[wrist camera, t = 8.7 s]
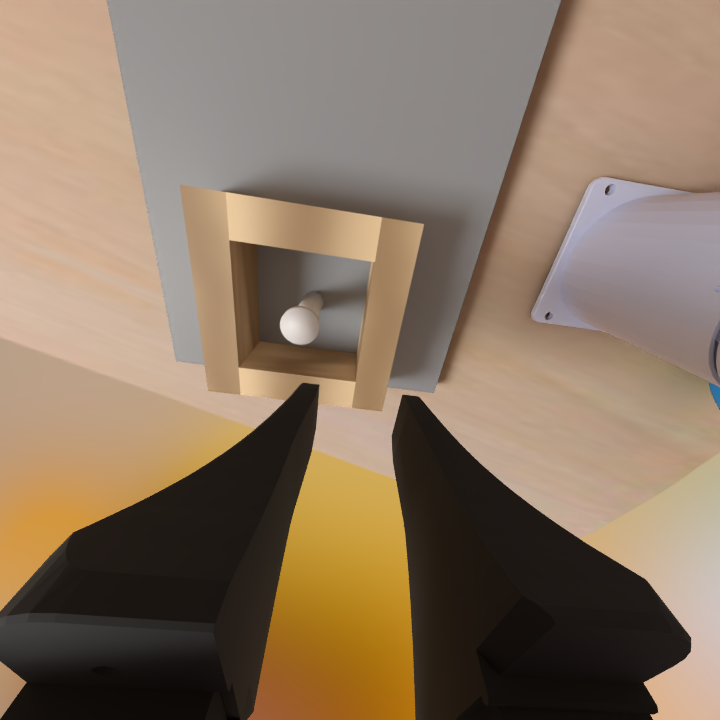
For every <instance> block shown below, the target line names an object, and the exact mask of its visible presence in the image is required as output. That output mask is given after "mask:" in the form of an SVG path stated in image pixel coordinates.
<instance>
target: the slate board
mask: <svg viewBox="0 0 720 720" xmlns="http://www.w3.org/2000/svg"><path fill="white" fill-rule="evenodd" d="M560 2H561V0H107V4H108V9H109V14H110V19H111V25H112V30H113V35H114V40H115V45H116V51H117V56H118V61H119V66H120V71H121V77H122V82H123V87H124V92H125V97H126V103H127V108H128V113H129V118H130V123H131V129H132V134H133V139H134V144H135V149H136V155H137V160H138V165H139V170H140V175H141V181H142V186H143V191H144V196H145V201H146V207H147V212H148V217H149V222H150V227H151V233H152V238H153V243H154V248H155V253H156V259H157V264H158V269H159V274H160V279H161V285H162V290H163V295H164V300H165V306H166V311H167V316H168V321H169V326H170V332H171V337H172V342H173V347H174V352H175V358H176V361H177V362H186V363H194V364H202V365H205V364H204V357H203V349H202V342H201V335H200V328H199V320H198V313H197V306H196V299H195V292H194V284H193V277H192V270H191V263H190V255H189V248H188V241H187V234H186V227H185V219H184V212H183V205H182V198H181V190H180V185H185V186H191V187H198V188H204V189H210V190H216V191H222V192H229V193H235V194H241V195H247V196H253V197H260V198H266V199H272V200H278V201H284V202H290V203H297V204H303V205H309V206H315V207H321V208H328V209H334V210H340V211H346V212H352V213H359V214H365V215H371V216H377V217H383V218H389V219H396V220H402V221H408V222H414V223H420V224H424V227H423V232H422V236H421V240H420V245H419V249H418V254H417V258H416V263H415V267H414V271H413V276H412V280H411V285H410V289H409V294H408V298H407V302H406V307H405V311H404V316H403V320H402V325H401V329H400V333H399V338H398V342H397V347H396V351H395V356H394V360H393V365H392V369H391V373H390V378H389V382H388V387H389V388H398V389H406V390H414V391H422V392H430V393H434V391H435V388H436V385H437V382H438V379H439V376H440V373H441V370H442V366H443V363H444V360H445V357H446V354H447V351H448V348H449V345H450V342H451V339H452V336H453V332H454V329H455V326H456V323H457V320H458V317H459V314H460V311H461V308H462V305H463V302H464V298H465V295H466V292H467V289H468V286H469V283H470V280H471V277H472V274H473V271H474V268H475V265H476V261H477V258H478V255H479V252H480V249H481V246H482V243H483V240H484V237H485V234H486V231H487V227H488V224H489V221H490V218H491V215H492V212H493V209H494V206H495V203H496V200H497V197H498V193H499V190H500V187H501V184H502V181H503V178H504V175H505V172H506V169H507V166H508V163H509V159H510V156H511V153H512V150H513V147H514V144H515V141H516V138H517V135H518V132H519V129H520V125H521V122H522V119H523V116H524V113H525V110H526V107H527V104H528V101H529V98H530V95H531V92H532V88H533V85H534V82H535V79H536V76H537V73H538V70H539V67H540V64H541V61H542V58H543V54H544V51H545V48H546V45H547V42H548V39H549V36H550V33H551V30H552V27H553V24H554V20H555V17H556V14H557V11H558V8H559V5H560ZM370 264H371V261H364V260H357V259H351V258H344V257H338V256H331V255H324V254H318V253H311V252H304V251H298V250H291V249H285V248H278V247H271V246H265V245H258V244H257V268H258V301H259V334H260V341H261V342H269V343H277V344H284V345H292V346H300V347H307V348H315V349H323V350H331V351H338V352H346V353H354V354H357V349H358V342H359V336H360V329H361V323H362V316H363V310H364V303H365V297H366V290H367V283H368V277H369V270H370Z"/></svg>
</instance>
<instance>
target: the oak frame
mask: <svg viewBox="0 0 720 720" xmlns="http://www.w3.org/2000/svg"><path fill="white" fill-rule="evenodd" d="M180 190H181V198H182V205H183V212H184V219H185V227H186V234H187V241H188V248H189V255H190V263H191V270H192V277H193V284H194V292H195V299H196V306H197V313H198V320H199V328H200V335H201V342H202V349H203V357H204V364H205V371H206V378H207V386H208V391H213V392H221V393H230V394H238V395H247V396H255V397H264V398H272V399H281V400H287V399H288V398H289V397H290V396H291V395H292V393H293V392H294V391H295V390H296V389H297V388H298V386H299V385H300V384H302V383H310V384H319V385H320V387H319V398H318V404H324V405H332V406H341V407H349V408H358V409H366V410H375V411H382V409H383V404H384V400H385V396H386V391H387V387H388V382H389V378H390V373H391V369H392V365H393V360H394V356H395V351H396V347H397V342H398V338H399V333H400V329H401V325H402V320H403V316H404V311H405V307H406V302H407V298H408V294H409V289H410V285H411V280H412V276H413V271H414V267H415V263H416V258H417V254H418V249H419V245H420V240H421V236H422V232H423V227H424V224H420V223H414V222H408V221H402V220H396V219H389V218H383V217H377V216H371V215H365V214H359V213H352V212H346V211H340V210H334V209H328V208H321V207H315V206H309V205H303V204H297V203H290V202H284V201H278V200H272V199H266V198H260V197H253V196H247V195H241V194H235V193H229V192H222V191H216V190H210V189H204V188H198V187H191V186H185V185H180ZM257 244H258V245H265V246H271V247H278V248H285V249H291V250H298V251H304V252H311V253H318V254H324V255H331V256H338V257H344V258H351V259H357V260H364V261H371V264H370V270H369V277H368V283H367V290H366V297H365V303H364V310H363V316H362V323H361V329H360V336H359V342H358V349H357V354H354V353H346V352H338V351H331V350H323V349H315V348H307V347H300V346H292V345H284V344H277V343H269V342H261V341H260V334H259V301H258V268H257Z"/></svg>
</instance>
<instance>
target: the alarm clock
mask: <svg viewBox="0 0 720 720" xmlns="http://www.w3.org/2000/svg"><path fill="white" fill-rule="evenodd" d="M709 386H710V390H711V393H712V395H713V398H714V400H715V402H716V404H717V406H718V407H719V409H720V387H718V386H716V385H714V384H712V383H710V382H709Z"/></svg>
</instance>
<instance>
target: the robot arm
mask: <svg viewBox="0 0 720 720" xmlns="http://www.w3.org/2000/svg"><path fill="white" fill-rule="evenodd" d="M608 185H609V187H610V189H609V192H608V193H607V194H606V195H605V189H606V187H607V186H608ZM548 312H550V314H549V316H548V317H546V318H545V315H546V314H547V313H548ZM531 318H532V319H533V320H535V321H537V322H542V323H549V324H556V325H563V326H570V327H577V328H584V329H591V330H598V331H604V332H606V333H608V334H610V335H612V336H614V337H616V338H618V339H620V340H622V341H624V342H627V343H629V344H631V345H633V346H635V347H637V348H639V349H641V350H643V351H645V352H647V353H649V354H652V355H654V356H656V357H658V358H660V359H662V360H664V361H666V362H668V363H670V364H672V365H674V366H677V367H679V368H681V369H683V370H685V371H687V372H689V373H691V374H693V375H695V376H697V377H699V378H702V379H704V380H706V381H708V382H710V383H712V384H714V385H716V386H718V387H720V192H708V193H692V192H686V191H681V190H675V189H670V188H664V187H659V186H653V185H647V184H642V183H636V182H631V181H625V180H620V179H614V178H609V177H601V178H597V179H594V180H593V181H592V182H591V183H590V184H589V186H588V187H587V190H586V192H585V194H584V196H583V198H582V201H581V203H580V205H579V207H578V210H577V212H576V214H575V216H574V219H573V221H572V223H571V225H570V227H569V230H568V232H567V234H566V236H565V239H564V241H563V243H562V245H561V247H560V250H559V252H558V254H557V256H556V259H555V261H554V263H553V265H552V268H551V270H550V272H549V274H548V276H547V279H546V281H545V283H544V285H543V288H542V290H541V292H540V294H539V296H538V299H537V301H536V303H535V305H534V308H533V310H532V312H531ZM319 387H320V385H319V384H310V383H302V384H300V385H299V386H298V388H297V389H296V390H295V391H294V392H293V393H292V395H291V396H290V397H289V398H288V399H287V400H286V401H285V402H284V403H283V404H282V405H281V406H280V407H279V408H278V409H277V410H276V411H275V412H274V413H273V414H272V415H271V416H270V417H269V418H267V419H266V420H265V421H264V422H263V423H262V424H261V425H259V426H258V427H257V428H256V429H255V430H254V431H253V432H251V433H250V434H249V435H247V436H246V437H245V438H244V439H242V440H241V441H240V442H238V443H237V444H236V445H234V446H233V447H232V448H230V449H229V450H228V451H226V452H225V453H223V454H222V455H220V456H219V457H217V458H216V459H214V460H213V461H211V462H209V463H208V464H207V465H205V466H203V467H202V468H200V469H199V470H197V471H196V472H194V473H192V474H190V475H189V476H187V477H185V478H183V479H182V480H180V481H178V482H176V483H174V484H172V485H171V486H169V487H167V488H165V489H163V490H161V491H159V492H158V493H156V494H154V495H152V496H150V497H148V498H146V499H144V500H142V501H140V502H138V503H136V504H134V505H132V506H130V507H128V508H125V509H123V510H121V511H119V512H117V513H115V514H113V515H110V516H109V517H106V518H104V519H102V520H100V521H98V522H95V523H93V524H91V525H89V526H87V527H85V528H82V529H80V530H78V531H76V532H73V534H72V535H70V536H69V538H67V539H66V540H65V542H64V543H63V544H62V545H61V546H60V547H59V548H58V549H57V550H56V551H55V552H54V553H53V554H52V555H51V556H50V557H49V558H48V559H47V560H46V561H45V562H44V563H43V564H42V566H41V567H40V568H39V569H38V570H37V571H36V572H35V573H34V574H33V576H32V577H31V578H30V579H29V580H28V581H27V582H26V583H25V585H24V586H23V587H22V588H21V589H20V590H19V591H18V592H17V593H16V595H15V596H14V597H13V598H12V599H11V600H10V601H9V602H8V604H7V605H6V606H5V607H4V608H3V609H2V610H1V611H0V661H1V662H2V663H3V664H5V665H6V666H7V667H9V668H10V669H11V670H12V671H13V672H15V673H16V674H17V675H18V676H20V677H21V678H22V679H23V680H25V681H26V682H27V683H26V684H25V686H24V687H23V688H22V690H21V691H20V693H19V694H18V695H17V697H16V698H15V699H14V701H13V702H12V704H11V705H10V707H9V708H8V709H7V711H6V712H5V714H4V715H3V716H2V718H1V719H0V720H247V719H248V718H249V717H250V715H251V714H252V713H253V711H254V705H255V700H256V695H257V689H258V684H259V678H260V673H261V668H262V663H263V658H264V653H265V647H266V642H267V637H268V632H269V627H270V622H271V617H272V611H273V606H274V601H275V596H276V591H277V586H278V581H279V576H280V571H281V567H282V562H283V556H284V552H285V547H286V542H287V537H288V533H289V528H290V524H291V519H292V516H293V512H294V508H295V505H296V502H297V498H298V495H299V492H300V488H301V485H302V482H303V478H304V475H305V472H306V469H307V465H308V462H309V458H310V455H311V451H312V446H313V441H314V435H315V430H316V421H317V409H318V398H319ZM392 452H393V464H394V470H395V476H396V481H397V487H398V492H399V498H400V503H401V509H402V515H403V520H404V527H405V535H406V547H407V557H408V558H407V559H408V571H409V585H410V600H411V618H412V636H413V656H414V657H413V658H414V684H415V716H416V720H653V719H652V717H651V715H650V714H656V713H658V708H657V705H656V703H655V701H654V700H653V698H652V696H651V695H650V693H649V692H648V690H647V688H646V686H645V685H644V683H643V682H645V681H647V680H649V679H651V678H653V677H654V676H656V675H658V674H660V673H662V672H664V671H665V670H667V669H669V668H671V667H673V666H674V665H676V664H678V663H679V662H680V661H682V660H684V659H685V658H686V657H687V655H688V654H689V653H690V652H691V637H690V636H689V634H688V633H687V632H686V631H685V629H684V628H683V627H682V625H681V624H680V623H679V622H678V620H677V619H676V618H675V617H674V615H673V614H672V613H671V611H670V610H669V609H668V607H667V606H666V605H665V603H664V602H663V601H662V600H661V598H660V597H659V596H658V595H657V593H656V592H655V591H654V589H653V588H652V587H651V586H650V584H649V583H648V582H647V581H646V580H645V579H644V578H642V577H641V576H639V575H637V574H636V573H634V572H632V571H631V570H629V569H627V568H625V567H624V566H623V565H621V564H619V563H618V562H616V561H614V560H613V559H611V558H609V557H608V556H606V555H604V554H603V553H601V552H599V551H598V550H596V549H595V548H593V547H591V546H589V545H588V544H586V543H585V542H583V541H582V540H580V539H579V538H577V537H576V536H574V535H573V534H571V533H570V532H568V531H567V530H565V529H564V528H562V527H561V526H559V525H558V524H556V523H555V522H554V521H552V520H551V519H549V518H548V517H546V516H545V515H544V514H542V513H541V512H539V511H538V510H537V509H535V508H534V507H533V506H531V505H530V504H529V503H527V502H526V501H525V500H523V499H522V498H521V497H520V496H518V495H517V494H516V493H514V492H513V491H512V490H511V489H509V488H508V487H507V486H506V485H504V484H503V483H502V482H501V481H500V480H498V479H497V478H496V477H495V476H494V475H493V474H492V473H490V472H489V471H488V470H487V469H486V468H485V467H484V466H482V465H481V464H480V463H479V462H478V461H477V460H476V459H475V458H474V457H473V456H472V455H471V454H470V453H469V452H468V451H467V450H466V449H465V448H464V447H463V446H462V445H461V444H460V443H459V442H458V441H457V440H456V439H455V438H454V437H453V436H452V435H451V433H450V432H449V431H448V430H447V429H446V428H445V427H444V426H443V424H442V423H441V422H440V421H439V420H438V419H437V417H436V416H435V415H434V414H433V413H432V412H431V410H430V409H429V408H428V407H427V406H426V404H425V403H424V402H423V401H422V400H421V399H420V398H419V397H417V396H409V395H402V399H401V403H400V406H399V410H398V414H397V418H396V422H395V426H394V430H393V433H392Z"/></svg>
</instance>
